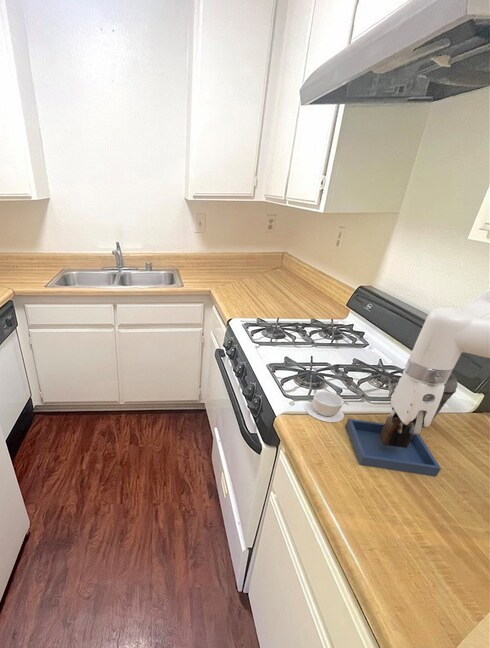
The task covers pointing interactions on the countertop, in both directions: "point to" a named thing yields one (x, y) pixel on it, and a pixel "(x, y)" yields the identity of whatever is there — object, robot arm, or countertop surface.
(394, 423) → the block
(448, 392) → the beverage cup
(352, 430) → the tray
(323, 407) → the teacup
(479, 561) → the countertop surface
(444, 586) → the countertop surface
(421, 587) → the countertop surface
